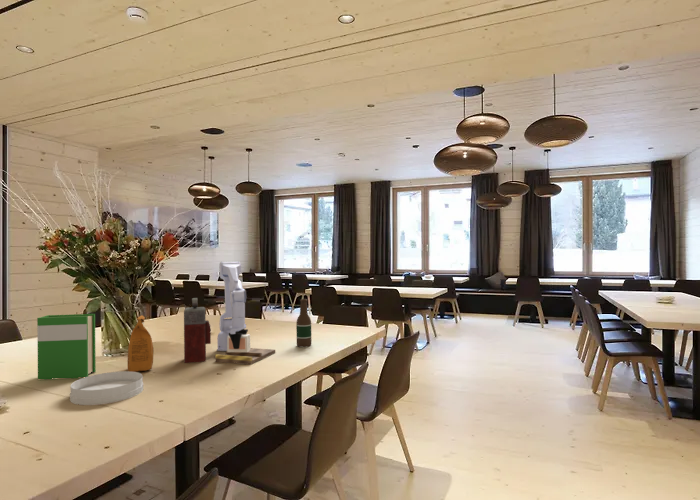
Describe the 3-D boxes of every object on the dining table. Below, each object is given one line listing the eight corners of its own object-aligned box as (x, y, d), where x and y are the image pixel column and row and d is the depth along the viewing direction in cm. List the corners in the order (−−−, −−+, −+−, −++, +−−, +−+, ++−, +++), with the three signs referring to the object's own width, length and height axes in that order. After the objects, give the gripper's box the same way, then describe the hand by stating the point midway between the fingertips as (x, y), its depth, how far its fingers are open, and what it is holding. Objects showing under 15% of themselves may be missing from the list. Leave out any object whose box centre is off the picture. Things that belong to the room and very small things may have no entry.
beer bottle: (293, 346, 217) (292, 299, 217) (302, 343, 224) (301, 298, 224) (306, 347, 213) (305, 300, 213) (314, 344, 220) (314, 298, 220)
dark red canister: (211, 360, 190) (210, 298, 190) (184, 363, 186) (183, 299, 186) (211, 356, 198) (210, 296, 198) (185, 358, 195) (184, 297, 195)
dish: (127, 380, 162) (127, 367, 162) (155, 392, 148) (154, 378, 148) (60, 396, 145) (59, 382, 145) (84, 411, 131) (83, 395, 131)
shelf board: (215, 361, 188) (215, 354, 188) (242, 350, 209) (242, 344, 209) (251, 364, 183) (251, 357, 183) (275, 352, 204) (275, 346, 204)
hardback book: (95, 372, 173) (95, 313, 174) (87, 377, 166) (86, 316, 166) (48, 374, 171) (48, 315, 171) (37, 380, 164) (37, 318, 164)
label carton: (227, 352, 188) (226, 336, 188) (230, 349, 192) (230, 334, 193) (246, 352, 187) (246, 336, 187) (250, 349, 192) (250, 334, 192)
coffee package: (154, 364, 185) (154, 314, 185) (153, 371, 173) (152, 318, 173) (129, 367, 181) (128, 315, 181) (125, 374, 170) (125, 319, 170)
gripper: (235, 314, 197) (235, 343, 197) (223, 319, 183) (223, 350, 183) (250, 314, 197) (250, 343, 197) (239, 319, 182) (239, 351, 182)
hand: (238, 347), depth 190 cm, fingers closed on label carton, 5 cm apart
